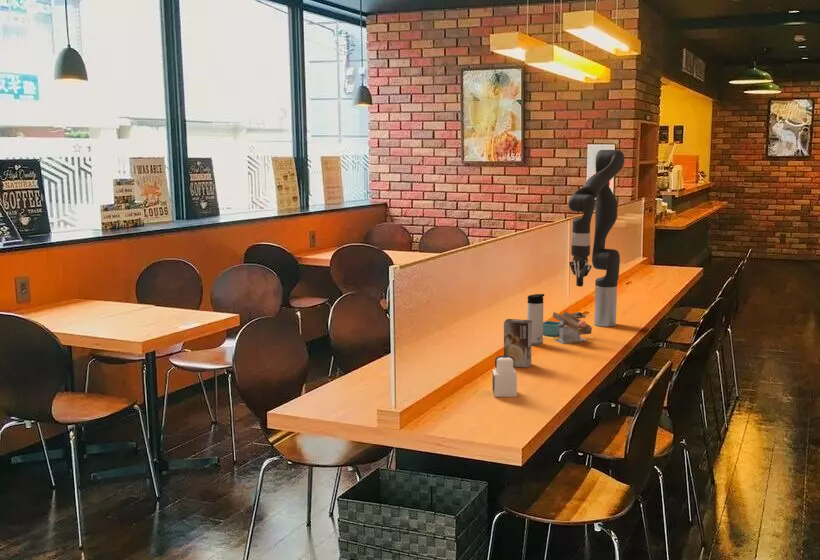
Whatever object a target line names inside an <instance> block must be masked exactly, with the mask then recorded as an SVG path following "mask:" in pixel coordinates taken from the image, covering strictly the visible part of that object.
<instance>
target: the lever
mask: <svg viewBox="0 0 820 560" xmlns="http://www.w3.org/2000/svg"><path fill="white" fill-rule="evenodd" d="M552 318H554V319H555V320H556V321H557V322H560V320H562V321H565V326H568V327H569V328H571V329H573V330H574V331H576V332H577V335H580V336H582V335H592V330H593V327H592V326H591V325H590V324H588V323H586V327H583V328H580V327H579V326H578V323H579V322H580V321H582V319H585V318H587V316H586V314H584V313H583V312H579V311H578V312H572V313H569V312H568V311H566V310H565V311H564V312H563V314H559V313H557V312H555V311H554V312H553V313H552Z"/></svg>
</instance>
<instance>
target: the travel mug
mask: <svg viewBox="0 0 820 560" xmlns="http://www.w3.org/2000/svg"><path fill="white" fill-rule="evenodd" d="M544 297H545V294H544V293H537V294H535V293H534V294H529V295H528V296H527V302H526V303H527V304H526V307H527V310H526V320H531V322H532V324H531V347H536V346H542V345H543V343H544V335H543V322H544Z"/></svg>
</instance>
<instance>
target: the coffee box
mask: <svg viewBox="0 0 820 560" xmlns="http://www.w3.org/2000/svg"><path fill="white" fill-rule="evenodd" d="M531 324H532V322H531V320H527V319H518V318H507V319H505V320H504V321H503V356H511V357H513V358H514V368H515V367H516V368H517V367H518V368H529V367H530V366H531V365H532V345H531Z"/></svg>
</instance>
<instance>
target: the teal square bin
mask: <svg viewBox="0 0 820 560" xmlns="http://www.w3.org/2000/svg"><path fill="white" fill-rule="evenodd" d="M559 324H560V321H556V320H555V321H554V320H553V321H552V320H546V321H543V336H545V337H555V338H557V337H559V335H560V328H559Z"/></svg>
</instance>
